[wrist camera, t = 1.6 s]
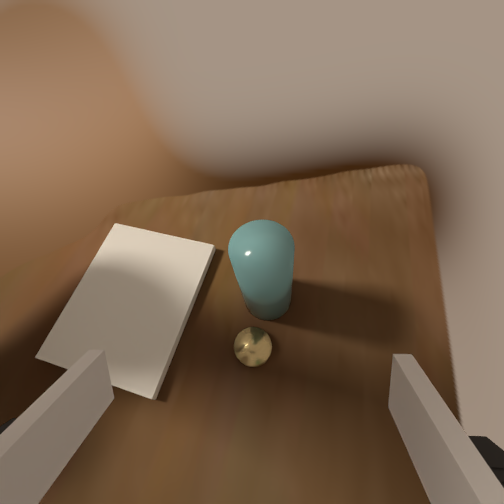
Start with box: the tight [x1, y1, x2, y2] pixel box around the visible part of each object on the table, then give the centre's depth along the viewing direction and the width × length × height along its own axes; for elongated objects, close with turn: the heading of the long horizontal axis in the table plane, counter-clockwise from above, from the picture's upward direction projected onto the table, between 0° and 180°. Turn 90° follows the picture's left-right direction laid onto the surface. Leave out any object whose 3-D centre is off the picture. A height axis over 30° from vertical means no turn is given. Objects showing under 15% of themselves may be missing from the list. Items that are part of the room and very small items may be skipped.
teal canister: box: [228, 220, 294, 320], centre depth 33 cm, size 6×6×13 cm
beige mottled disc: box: [234, 327, 272, 367], centre depth 36 cm, size 4×4×1 cm
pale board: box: [35, 223, 216, 400], centre depth 40 cm, size 16×20×1 cm
